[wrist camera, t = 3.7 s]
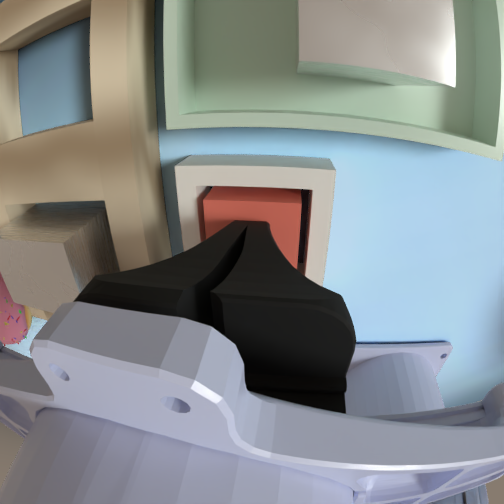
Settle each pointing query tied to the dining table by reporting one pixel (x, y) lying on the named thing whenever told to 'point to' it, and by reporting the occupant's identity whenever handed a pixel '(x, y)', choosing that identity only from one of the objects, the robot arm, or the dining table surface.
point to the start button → (257, 213)
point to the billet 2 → (377, 41)
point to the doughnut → (12, 317)
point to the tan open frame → (90, 127)
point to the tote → (326, 78)
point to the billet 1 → (56, 252)
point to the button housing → (260, 175)
